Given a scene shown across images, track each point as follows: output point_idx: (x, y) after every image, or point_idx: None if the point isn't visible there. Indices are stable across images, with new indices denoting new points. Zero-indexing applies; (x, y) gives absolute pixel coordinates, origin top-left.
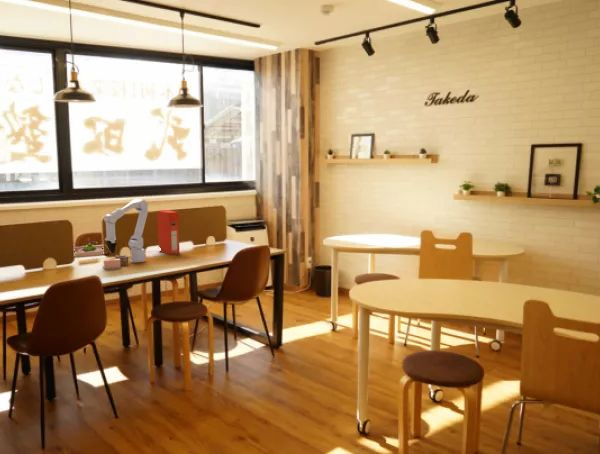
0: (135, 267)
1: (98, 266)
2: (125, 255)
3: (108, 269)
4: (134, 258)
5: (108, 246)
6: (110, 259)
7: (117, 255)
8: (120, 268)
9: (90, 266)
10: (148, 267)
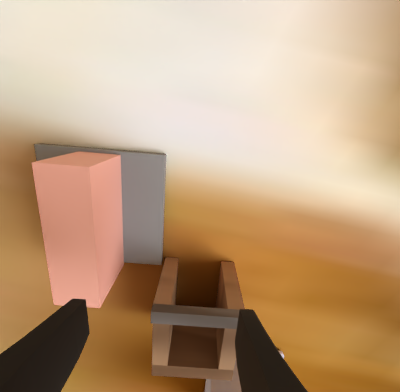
0: None
1: (219, 128)
2: (223, 374)
3: None
4: (218, 386)
5: (261, 380)
6: (93, 235)
7: (217, 327)
8: None
9: (259, 60)
10: None
